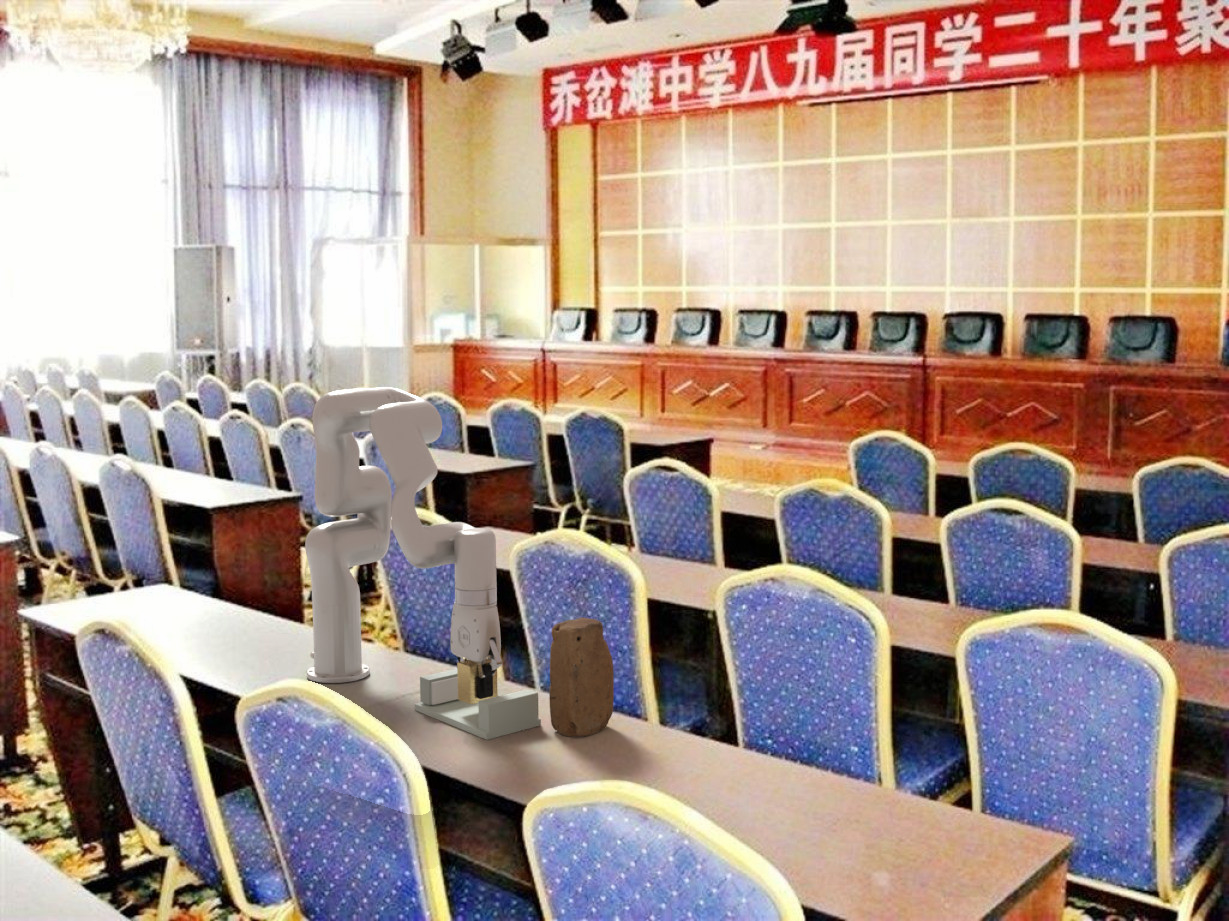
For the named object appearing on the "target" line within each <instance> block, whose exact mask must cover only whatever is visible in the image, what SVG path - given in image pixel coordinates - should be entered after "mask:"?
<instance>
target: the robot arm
mask: <svg viewBox="0 0 1229 921" xmlns="http://www.w3.org/2000/svg"><path fill="white" fill-rule="evenodd" d="M442 420H443V419H442V416H441V415H440V412H439V411H438V409H437V407H436V406H435V405H433V404H432V403H431V402H429V401H428V400H426V399H424V398H421V397H419V396H417V395H414V394H411V393H409V392H407V391H404V390H402V389H400V388H396V387H392V386H390V387H389V386H381V387H380V386H379V387H365V388H364V387H363V388H359V387H357V388H347V389H340V390H339V389H338V390H334V391H330V392H327V393H325V394H324V395H322V396H321V397H320V398H318V400H317V401H316V403H315V405H314V408H313V410H312V428H313V435H314V440H315V447H316V448H315V450H316V451H315V472H314V474H315V476H314V502H315V506H316V509H317V511H318V512H319V513H320V514H322V515H323V516H326V517H332V518H333V517H334V518H335V517H345V516H351V515H357V518H356V517H355V518H350V519H342V520H336V521H329V522H325V523H322V524H320V525H317V526H314V527H313V528H312V529H311V530H310V531H309V532H308V534H307V535H306V538H305V544H304V546H305V547H304V548H305V550H304V551H305V556H306V558H307V565H308V567H309V568H308V569H309V574H310V583H311V602H312V604H311V605H312V632H313V633H312V634H313V651H312V652H311V653H310V655H309V656H310V658H311V659H312V660H313V666H312V667H309V668H308V669H307V670H306V678H307V679H308V680H310V681H312V682H315V681H316V682H315V683H320V684H321V683H323V684H342V683H343V684H344V683H350V682H356V681H359V680H362V679H364V678H367V677H368V676H369V675H370V673H371V668H370V667H369V666H368V664H366V663H363V662H362V661H363V660H362V659H363V657H362V621H361V620H362V615H361V614H362V613H361V592H360V586H359V584H358V582H357V580H356V578H355V577H354V575H353V574H352V572H351V570H350V568H352V567H356V566H362V565H367V564H371V563H372V564H373V563H375V562H378V561H380V560H382V559H383V558H384V557H385V556H386V554H387V553H388V550H389V548H390V539H391V529H392V532H393V534H394V537H395V538H396V541H397V543H398V546H399V548H400V550H401V552H402V553H403V555H404V557H405V559H406V560H407V561H408V562H409V564H411V565H412V566H413V567H415V568H418V569H423V570H424V569H432V568H436V567H440V566H441V567H442V566H445V565H451V564H453V565H454V602H453V606H452V610H451V611H452V612H451V621H450V651H451V654H453V655H454V656H456V657H457V660H458V661H457V662H461V661H466V660H470V661H473V662H476V663H478V671H479V677H477V698H479V699H483V698H487V697H491V696H493V676H494V675H495V671H496V670H497V671H498V668H499V667H501V666H502V665H503V660H502V659H501V651H502V650H501V648H502V644H501V642H502V640H501V627H500V624H501V623H500V619H499V612H498V605H497V602H498V601H497V600H498V598H497V597H498V596H497V592H498V591H497V590H498V589H497V587H498V586H497V541H496V535H495V533H494V531H493V530H491V529H488V528H483V527H475V526H472V525H471V524H469V523H466V522H462V521H453V522H448V523H441V524H434V525H429V526H423V524H422V522H421V520H420V518H419V515H418V513H417V509H416V506H415V499H416V494H417V493H418V492H419V491H421V490H423V489H424V488H426V487H427V486H428V485H429V484H431V482H433V480H435V479H436V477H437V475H438V466H437V464H436V461H435V460H434V457H433V456H432V454H431V452H430V450H429V447H428V446H427V444H432V443H434V442H436V441H437V440H438V439H439V438H440V437H441V435H442V432H443V421H442ZM359 432H360V433H362V432H370V433H371V435H372V438H373V440H374V442H375V444H376V447H377V448H378V451H379V453H380V455H381V457H382V460H383V461H384V464H385V466H386V468H387V470H388V473H389V474H390V477H391V479H392V481H393V484H394V486H395V490H394V493H393V496H392V487H391V483H390V479H389V477H388V476H387V474H386V472H385V471H384V470H382V469H381V468H380V467H378V466H375V465H361V466H360V455H361V454H360V446H359V444H358V441H357V439H356V438H355V436H354V434H353V433H359ZM486 658H487V659H486ZM483 663H488V665H487V666H486V667H485V668H484V664H483Z"/></svg>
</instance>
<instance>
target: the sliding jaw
mask: <svg viewBox="0 0 1229 921" xmlns="http://www.w3.org/2000/svg"><path fill="white" fill-rule="evenodd" d="M419 687H420V690H419V694H420V696H419V697H420V702H423V703H425V704H428V705H435V704H439V703H444V702H448V701H452V700H456V699H458V670H457V668H454V669H448V670H445V671H440V672H435V673H432V674H431V673H430V674H426V675H422V676H419Z"/></svg>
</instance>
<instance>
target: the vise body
mask: <svg viewBox="0 0 1229 921" xmlns="http://www.w3.org/2000/svg"><path fill="white" fill-rule="evenodd" d="M414 710H415V711H416V712H418V713H421V714H423V715H426V716H429V717H431V718H433V719H435V720H438V721H441V722H443V723H444V724H448V725H450V726H453V727H455V728H457V729H458V730H461V731H464V732H467V733H469V734H472V735H474V736H476V737H479V738H481V739H484V740H486V741H488V740H491V739H496V738H498V737H502V736H507V735H510V734H514V733H517V732H522V731H526V730H529V729H533V728H537V727H540V725H541V724H542V722H541V721H542V719H541V718H539V692H538V691H536V690H535V691H534V690H531V689H529V688H527V689H522V690H519V691H514V692H511V693H507V694H502V695H498V696H497V697H493V698H489V699H485V700H480V701H478V703H474V704H468V703H466V702H463V701H461V700H458V699H456V700H452V701H448V702H444V703H439V704H435V705H428V704H425V703H423V702H421V701H420V702H417V703H416V702H415V703H414ZM536 726H537V727H536ZM541 726H542V725H541ZM525 729H526V730H525ZM521 730H522V731H521Z"/></svg>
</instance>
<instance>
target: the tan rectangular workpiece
mask: <svg viewBox="0 0 1229 921" xmlns="http://www.w3.org/2000/svg"><path fill="white" fill-rule="evenodd" d="M487 658H488V657H487ZM487 658H486V659H487ZM483 664H484V668H485V667H486V666H487V665H488V663H483ZM456 665H457V668H456V669H457V670H458V700H461V701H463V702H466V703H468V704H474V703H478V701H480V700H485V699H489V698H493V697H497V696H499V695H498V669H497V670H496V671H495V675H494V676H493V696H491V697H487V698H483V699H479V698H477V677H479V671H478V663H476V662H473V661H470V660H466V661H461V662H459V661H457V663H456Z"/></svg>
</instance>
